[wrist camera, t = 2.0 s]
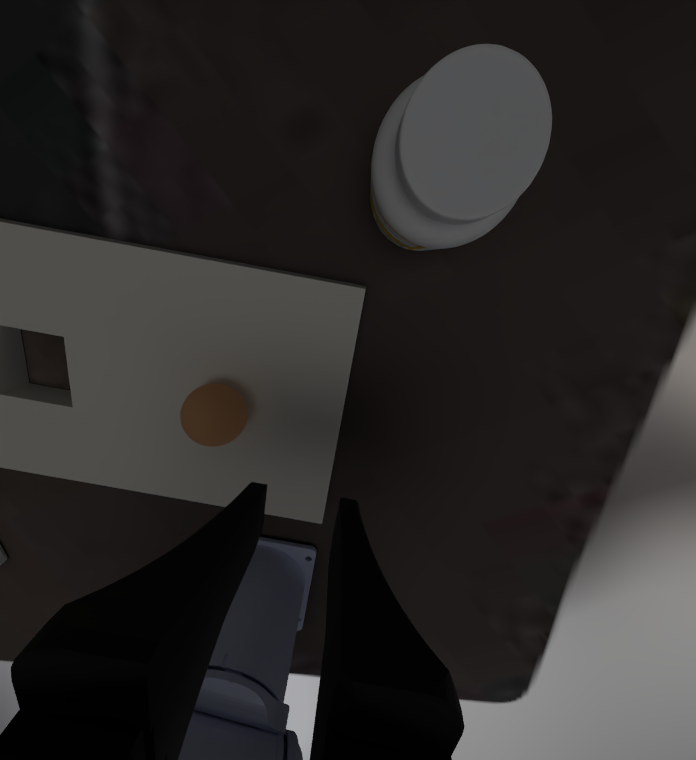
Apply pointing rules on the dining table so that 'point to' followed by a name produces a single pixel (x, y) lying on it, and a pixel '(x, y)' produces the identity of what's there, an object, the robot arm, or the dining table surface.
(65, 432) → the white flat board
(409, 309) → the dining table surface
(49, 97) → the dining table surface
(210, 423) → the ball
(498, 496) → the dining table surface
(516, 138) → the supplement bottle
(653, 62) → the dining table surface
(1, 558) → the medicine bottle
